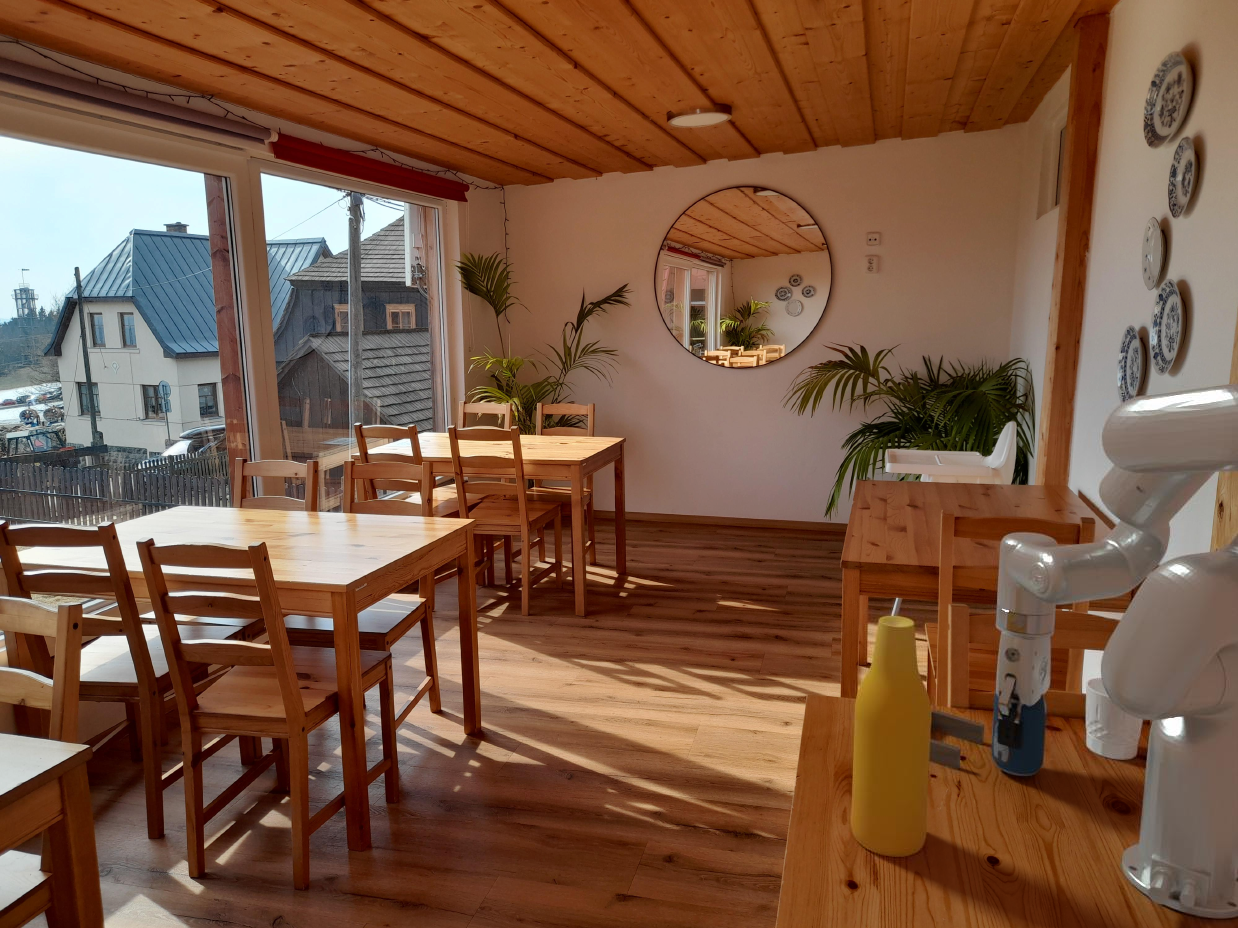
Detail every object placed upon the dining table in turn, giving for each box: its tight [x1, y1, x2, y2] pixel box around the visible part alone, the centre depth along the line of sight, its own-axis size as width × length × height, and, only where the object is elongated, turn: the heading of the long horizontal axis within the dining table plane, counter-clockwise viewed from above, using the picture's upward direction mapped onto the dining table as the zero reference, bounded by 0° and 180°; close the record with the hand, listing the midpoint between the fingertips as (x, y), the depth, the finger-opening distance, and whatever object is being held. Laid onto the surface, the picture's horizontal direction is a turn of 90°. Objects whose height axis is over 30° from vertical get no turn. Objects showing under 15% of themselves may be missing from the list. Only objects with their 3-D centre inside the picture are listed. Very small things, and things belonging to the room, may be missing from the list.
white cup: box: [1085, 677, 1144, 761], centre depth 129 cm, size 8×8×10 cm
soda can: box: [990, 693, 1048, 777], centre depth 122 cm, size 7×7×12 cm
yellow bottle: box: [850, 615, 932, 858], centre depth 106 cm, size 9×9×29 cm
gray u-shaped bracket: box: [929, 708, 985, 770], centre depth 131 cm, size 11×9×3 cm
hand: (1018, 735), depth 123 cm, fingers closed on soda can, 7 cm apart
